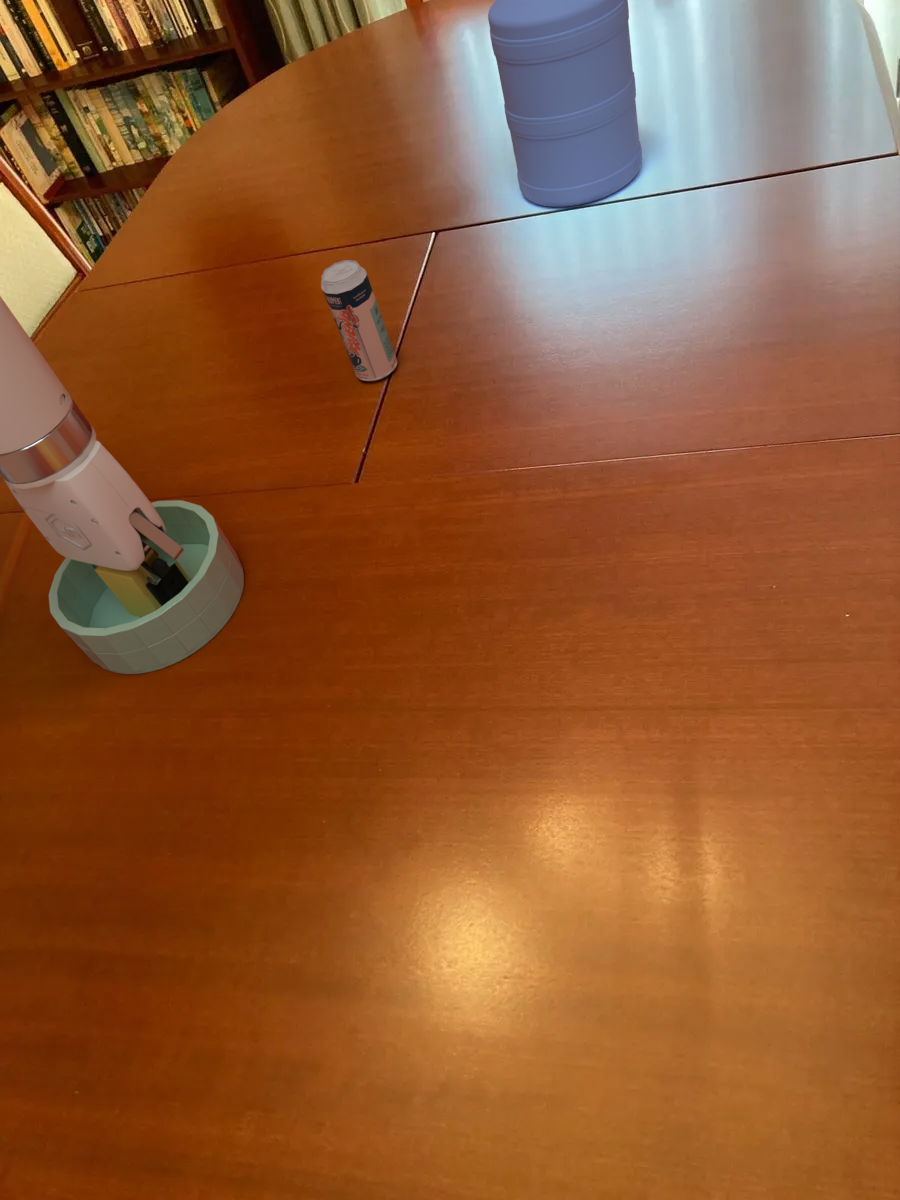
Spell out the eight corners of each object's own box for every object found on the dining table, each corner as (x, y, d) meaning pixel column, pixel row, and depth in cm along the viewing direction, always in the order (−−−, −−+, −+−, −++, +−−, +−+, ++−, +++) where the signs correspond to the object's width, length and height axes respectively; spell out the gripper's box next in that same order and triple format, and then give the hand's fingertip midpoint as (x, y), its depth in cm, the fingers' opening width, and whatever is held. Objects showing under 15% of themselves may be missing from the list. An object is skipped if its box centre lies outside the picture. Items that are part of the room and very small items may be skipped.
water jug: (629, 204, 106) (600, -76, 85) (506, 215, 112) (451, -44, 91) (653, 142, 114) (632, -124, 94) (537, 156, 120) (494, -92, 100)
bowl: (67, 691, 76) (29, 653, 72) (102, 562, 86) (70, 523, 82) (236, 652, 74) (206, 610, 70) (250, 525, 84) (225, 483, 80)
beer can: (351, 370, 97) (311, 271, 89) (389, 352, 98) (354, 252, 89) (365, 390, 94) (325, 290, 85) (405, 371, 95) (369, 269, 86)
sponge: (129, 614, 80) (94, 570, 75) (159, 578, 82) (126, 533, 78) (166, 623, 78) (131, 578, 73) (195, 586, 80) (163, 540, 76)
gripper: (-65, 463, 68) (69, 611, 81) (85, 488, 60) (206, 647, 74) (1, 401, 72) (119, 552, 85) (150, 417, 64) (254, 581, 77)
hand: (158, 595), depth 79 cm, fingers closed on sponge, 4 cm apart
